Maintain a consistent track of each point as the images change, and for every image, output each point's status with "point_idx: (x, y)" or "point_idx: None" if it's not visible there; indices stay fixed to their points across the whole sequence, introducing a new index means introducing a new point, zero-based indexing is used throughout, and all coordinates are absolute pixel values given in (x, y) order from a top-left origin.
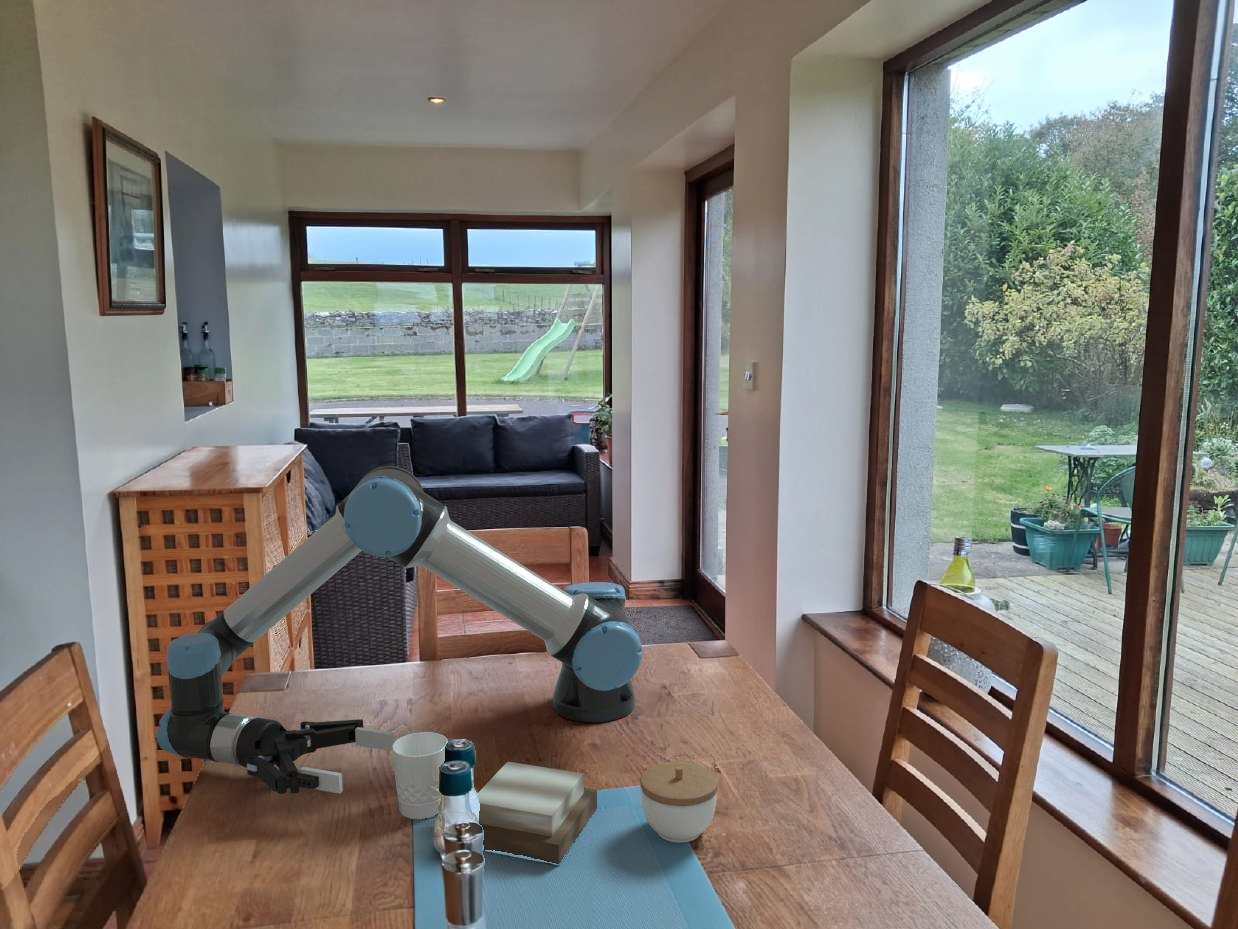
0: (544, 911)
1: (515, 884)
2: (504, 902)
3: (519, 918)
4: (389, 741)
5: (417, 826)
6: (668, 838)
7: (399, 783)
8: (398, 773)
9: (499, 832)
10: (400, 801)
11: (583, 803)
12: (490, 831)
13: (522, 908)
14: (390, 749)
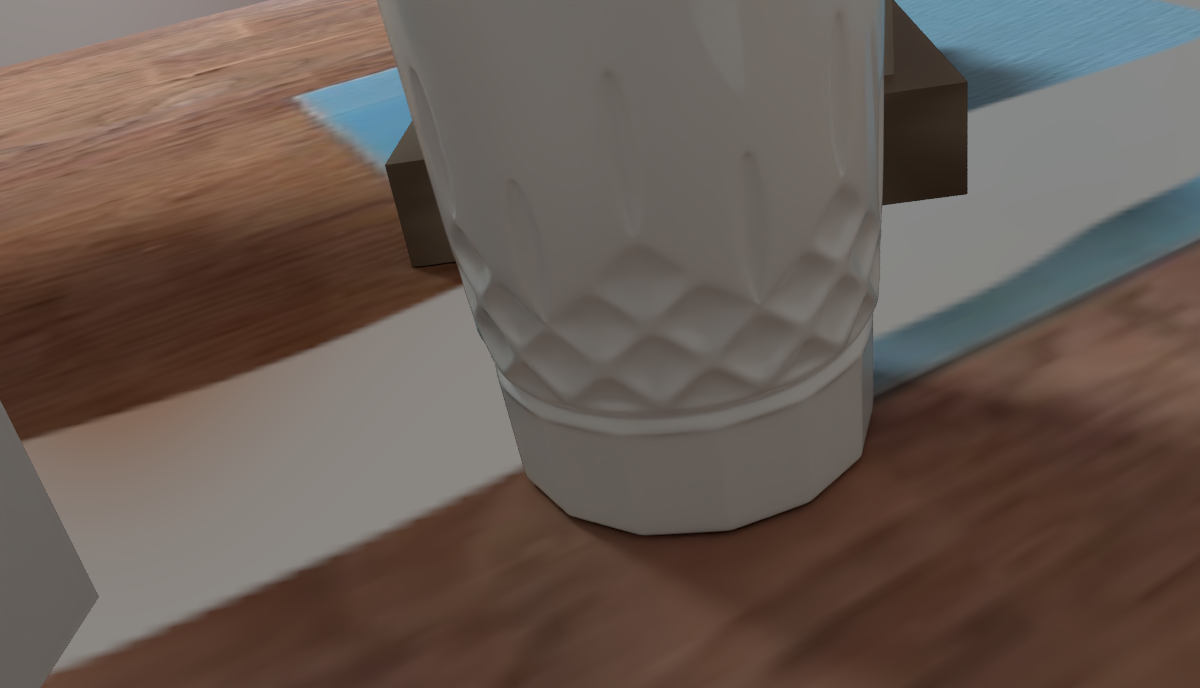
0: (1100, 3)
1: (1042, 55)
2: (1152, 37)
3: (1183, 8)
4: (24, 502)
5: (917, 354)
6: None
7: (875, 176)
8: (871, 82)
9: (902, 22)
10: (856, 358)
11: None
12: (915, 33)
13: (1135, 18)
14: (78, 596)
